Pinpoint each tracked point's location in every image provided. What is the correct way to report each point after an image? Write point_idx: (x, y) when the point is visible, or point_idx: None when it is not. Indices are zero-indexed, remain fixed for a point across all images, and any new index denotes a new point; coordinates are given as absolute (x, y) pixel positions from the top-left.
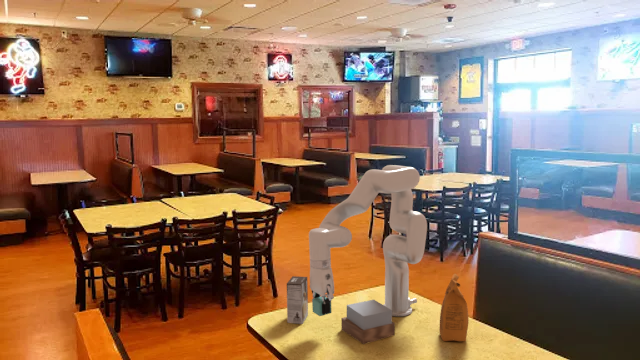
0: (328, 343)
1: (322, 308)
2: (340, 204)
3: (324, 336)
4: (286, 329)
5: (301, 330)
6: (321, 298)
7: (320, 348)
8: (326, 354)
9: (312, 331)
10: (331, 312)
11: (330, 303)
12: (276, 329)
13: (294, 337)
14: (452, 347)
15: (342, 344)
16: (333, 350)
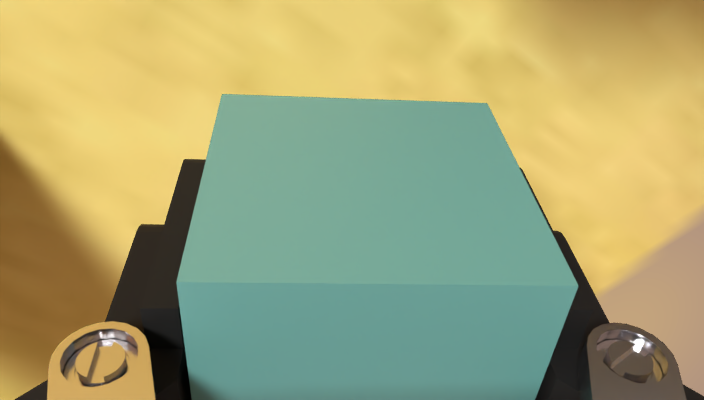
0: (544, 122)
1: None
2: None
3: (394, 67)
4: (44, 269)
5: (131, 177)
6: (321, 392)
7: (559, 223)
8: (670, 237)
9: (211, 103)
10: (489, 108)
11: (538, 236)
12: (9, 327)
13: None
14: None
15: (671, 22)
16: (675, 160)
